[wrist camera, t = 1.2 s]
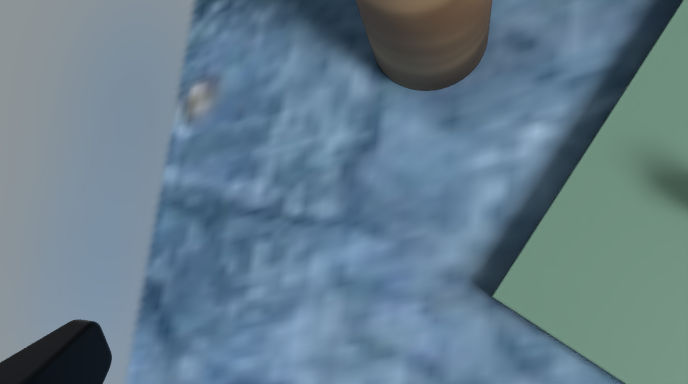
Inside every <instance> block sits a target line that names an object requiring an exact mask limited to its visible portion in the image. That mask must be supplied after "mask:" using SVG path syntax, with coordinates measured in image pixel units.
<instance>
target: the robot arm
mask: <svg viewBox="0 0 688 384" xmlns="http://www.w3.org/2000/svg"><path fill="white" fill-rule="evenodd" d="M111 360H112V355H111V351H110V348H109V346H108V344H107V341H106V339H105V336H104V334H103V331H102V329H101V327H100V325H99V324H98V323H96V322H93V321H87V320H73V321H71V322H69V323H67V324H65V325H63V326H62V327H60V328H58V329H57V330H55V331H53V332H51V333H50V334H48V335H46V336H45V337H43V338H42V339H40V340H38V341H36V342H35V343H33V344H31V345H29V346H28V347H26V348H24V349H23V350H21V351H19V352H18V353H16V354H14V355H12V356H11V357H9V358H7V359H6V360H4V361H2V362H1V363H0V384H103V382H104V380H105V377H106V375H107V373H108V371H109V368H110V364H111Z"/></svg>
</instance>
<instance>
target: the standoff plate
mask: <svg viewBox="0 0 688 384" xmlns="http://www.w3.org/2000/svg"><path fill="white" fill-rule="evenodd" d="M491 297H492V298H494V299H495V300H497V301H498V302H500V303H501V304H503V305H504V306H506V307H507V308H509V309H511V310H512V311H514V312H515V313H517V314H518V315H520V316H521V317H523V318H524V319H526V320H527V321H529V322H530V323H532V324H533V325H535V326H536V327H538V328H540V329H541V330H543V331H544V332H546V333H547V334H549V335H550V336H552V337H553V338H555V339H556V340H558V341H559V342H561V343H562V344H564V345H566V346H567V347H569V348H570V349H572V350H573V351H575V352H576V353H578V354H579V355H581V356H582V357H584V358H585V359H587V360H588V361H590V362H592V363H593V364H595V365H596V366H598V367H599V368H601V369H602V370H604V371H605V372H607V373H608V374H610V375H611V376H613V377H614V378H616V379H618V380H619V381H621V382H622V383H624V384H688V0H682V2H681V3H680V5H679V6H678V8H677V10H676V11H675V13H674V14H673V16H672V17H671V19H670V20H669V22H668V23H667V25H666V27H665V28H664V30H663V31H662V33H661V34H660V36H659V37H658V39H657V41H656V42H655V44H654V45H653V47H652V48H651V50H650V51H649V53H648V54H647V56H646V58H645V59H644V61H643V62H642V64H641V65H640V67H639V68H638V70H637V72H636V73H635V75H634V76H633V78H632V79H631V81H630V82H629V84H628V85H627V87H626V89H625V90H624V92H623V93H622V95H621V96H620V98H619V99H618V101H617V103H616V104H615V106H614V107H613V109H612V110H611V112H610V113H609V115H608V116H607V118H606V120H605V121H604V123H603V124H602V126H601V127H600V129H599V130H598V132H597V134H596V135H595V137H594V138H593V140H592V141H591V143H590V144H589V146H588V147H587V149H586V151H585V152H584V154H583V155H582V157H581V158H580V160H579V161H578V163H577V165H576V166H575V168H574V169H573V171H572V172H571V174H570V175H569V177H568V178H567V180H566V182H565V183H564V185H563V186H562V188H561V189H560V191H559V192H558V194H557V196H556V197H555V199H554V200H553V202H552V203H551V205H550V206H549V208H548V209H547V211H546V213H545V214H544V216H543V217H542V219H541V220H540V222H539V223H538V225H537V227H536V228H535V230H534V231H533V233H532V234H531V236H530V237H529V239H528V240H527V242H526V244H525V245H524V247H523V248H522V250H521V251H520V253H519V254H518V256H517V258H516V259H515V261H514V262H513V264H512V265H511V267H510V268H509V270H508V272H507V273H506V275H505V276H504V278H503V279H502V281H501V282H500V284H499V285H498V287H497V289H496V290H495V292H494V293H493V295H492V296H491Z"/></svg>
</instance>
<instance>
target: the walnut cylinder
mask: <svg viewBox="0 0 688 384" xmlns="http://www.w3.org/2000/svg"><path fill="white" fill-rule="evenodd" d="M356 3H357V6H358V9H359V12H360V15H361V18H362V21H363V24H364V27H365V30H366V33H367V36H368V39H369V42H370V45H371V48H372V51H373V54H374V57H375V59H376V61H377V64H378V65H379V67H380V68H381V70H382V71H383V72H384V73H385V75H387V76H388V77H389V78H390V79H391V80H393V81H394V82H396V83H397V84H399V85H401V86H403V87H406V88H410V89H414V90H421V91H431V90H438V89H443V88H446V87H449V86H451V85H453V84H456V83H457V82H459V81H461V80H462V79H464V78H465V77H466V76H468V75H469V74H470V73H471V72H472V71H473V70H474V69H475V67H476V66H477V65H478V64H479V62H480V60H481V59H482V57H483V55H484V52H485V50H486V46H487V41H488V33H489V24H490V16H491V7H492V0H356Z"/></svg>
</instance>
